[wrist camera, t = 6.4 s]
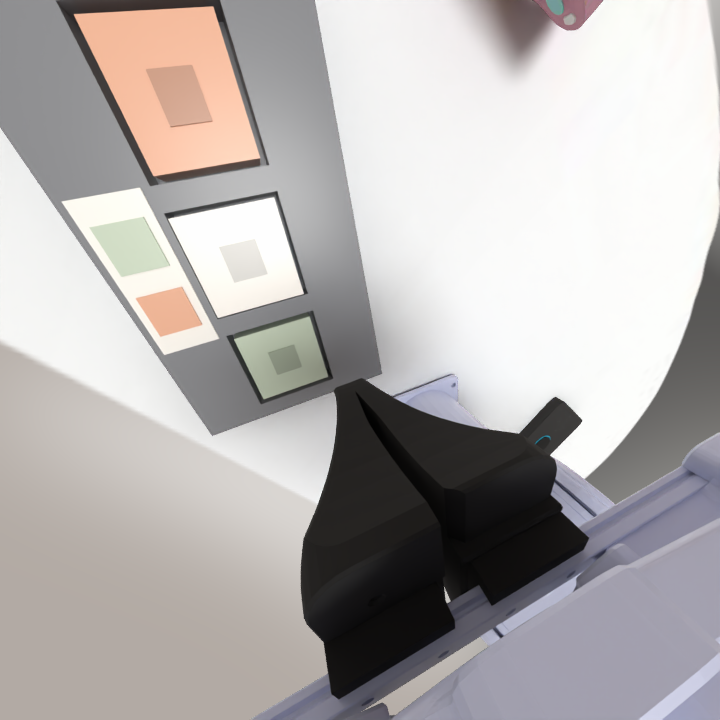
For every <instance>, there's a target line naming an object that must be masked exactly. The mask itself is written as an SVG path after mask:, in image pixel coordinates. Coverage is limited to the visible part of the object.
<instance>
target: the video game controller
mask: <svg viewBox="0 0 720 720" xmlns="http://www.w3.org/2000/svg"><path fill="white" fill-rule="evenodd" d="M533 1H535V2H536V3H537V4H538V5H539V6H540V7H541V8H542V9H543V10H544V11H545V12H546V14H547V15H548V16H549V17H550V18H551V19H552V20H553V21H554V22H555V23H556V24H557V25H558V26H560V27H561V28H563V29H565V30H576V29H579V28H580V27H581V26H582V25H583V24H584V22H585V21H586V20H587V19H588V18H589V17H590V15H591V14H592V13H593V12H594V11H595V10H596V8H597V7H598V6H599V5H600V4H601V3H602V1H603V0H533Z"/></svg>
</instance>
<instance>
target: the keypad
mask: <svg viewBox="0 0 720 720" xmlns="http://www.w3.org/2000/svg"><path fill="white" fill-rule="evenodd" d="M212 6H213V7H214V11H215V14H216V17H217V20H218V23H219V27H220V30H221V33H222V36H223V40H224V43H225V46H226V49H227V52H228V56H229V59H230V62H231V65H232V68H233V72H234V75H235V78H236V81H237V85H238V88H239V91H240V94H241V97H242V101H243V104H244V107H245V110H246V114H247V117H248V120H249V123H250V126H251V130H252V133H253V136H254V139H255V142H256V146H257V149H258V152H259V155H260V165H259V166H253V167H247V168H242V169H236V170H230V171H225V172H219V173H213V174H208V175H202V176H196V177H191V178H185V179H179V180H174V181H168V182H164V181H162V180H160V179H158V178H156V177H154V176H153V174H152V172H151V170H150V168H149V166H148V164H147V162H146V160H145V158H144V156H143V154H142V152H141V150H140V148H139V146H138V144H137V142H136V140H135V138H134V136H133V134H132V132H131V130H130V128H129V126H128V124H127V122H126V119H125V117H124V115H123V113H122V111H121V109H120V107H119V105H118V103H117V101H116V99H115V97H114V95H113V93H112V91H111V89H110V87H109V85H108V83H107V81H106V79H105V77H104V75H103V73H102V71H101V69H100V67H99V65H98V63H97V61H96V59H95V57H94V55H93V53H92V51H91V49H90V47H89V44H88V42H87V40H86V38H85V36H84V34H83V32H82V30H81V28H80V26H79V24H78V22H77V20H76V18H75V16H74V14H87V13H105V12H123V11H140V10H158V9H176V8H194V7H212ZM0 128H1V129H2V131H3V132H4V134H5V135H6V136H7V138H8V139H9V141H10V142H11V144H12V145H13V147H14V148H15V150H16V151H17V152H18V154H19V155H20V157H21V158H22V160H23V161H24V163H25V164H26V166H27V167H28V168H29V170H30V171H31V173H32V174H33V176H34V177H35V179H36V180H37V182H38V183H39V184H40V186H41V187H42V189H43V190H44V192H45V193H46V195H47V196H48V198H49V199H50V200H51V202H52V203H53V205H54V206H55V208H56V209H57V211H58V212H59V214H60V215H61V216H62V218H63V219H64V221H65V222H66V224H67V225H68V227H69V228H70V230H71V231H72V232H73V234H74V235H75V237H76V238H77V240H78V241H79V243H80V244H81V246H82V247H83V248H84V250H85V251H86V253H87V254H88V256H89V257H90V259H91V260H92V262H93V263H94V264H95V266H96V267H97V269H98V270H99V272H100V273H101V275H102V276H103V278H104V279H105V280H106V282H107V283H108V285H109V286H110V288H111V289H112V291H113V292H114V294H115V295H116V296H117V298H118V299H119V301H120V302H121V304H122V305H123V307H124V308H125V310H126V311H127V312H128V314H129V315H130V317H131V318H132V320H133V321H134V323H135V324H136V326H137V327H138V328H139V330H140V331H141V333H142V334H143V336H144V337H145V339H146V340H147V342H148V343H149V344H150V346H151V347H152V349H153V350H154V352H155V353H156V355H157V356H158V358H159V359H160V360H161V362H162V363H163V365H164V366H165V368H166V369H167V371H168V372H169V374H170V375H171V376H172V378H173V379H174V381H175V382H176V384H177V385H178V387H179V388H180V390H181V391H182V392H183V394H184V395H185V397H186V398H187V400H188V401H189V403H190V404H191V406H192V407H193V408H194V410H195V411H196V413H197V414H198V416H199V417H200V419H201V420H202V422H203V423H204V424H205V426H206V427H207V429H208V430H209V432H210V433H211V435H212V436H213V435H216V434H219V433H221V432H224V431H227V430H229V429H232V428H235V427H238V426H240V425H243V424H246V423H249V422H251V421H254V420H257V419H260V418H262V417H265V416H268V415H270V414H273V413H276V412H279V411H281V410H284V409H287V408H290V407H292V406H295V405H298V404H301V403H303V402H306V401H309V400H312V399H314V398H317V397H320V396H322V395H325V394H328V393H331V392H333V391H334V390H335V388H336V387H339V386H341V385H344V384H347V383H349V382H352V381H355V380H357V379H360V378H363V379H365V380H366V379H369V378H372V377H374V376H377V375H380V374H382V371H381V365H380V360H379V354H378V349H377V343H376V338H375V332H374V327H373V321H372V316H371V310H370V304H369V299H368V293H367V288H366V282H365V277H364V271H363V266H362V260H361V254H360V249H359V243H358V238H357V232H356V227H355V221H354V216H353V210H352V205H351V199H350V193H349V188H348V182H347V177H346V171H345V166H344V160H343V155H342V149H341V143H340V138H339V132H338V127H337V121H336V116H335V110H334V105H333V99H332V94H331V88H330V82H329V77H328V71H327V66H326V60H325V55H324V49H323V44H322V38H321V32H320V27H319V21H318V16H317V10H316V5H315V0H0ZM273 197H274V199H275V202H276V205H277V208H278V212H279V215H280V218H281V221H282V225H283V228H284V231H285V234H286V238H287V241H288V244H289V247H290V251H291V254H292V257H293V260H294V264H295V267H296V270H297V273H298V277H299V280H300V283H301V286H302V289H303V293H304V294H302V295H298V296H294V297H291V298H287V299H284V300H280V301H277V302H273V303H270V304H266V305H263V306H259V307H255V308H252V309H248V310H245V311H241V312H238V313H234V314H231V315H227V316H224V317H220V318H218V317H217V315H216V313H215V311H214V309H213V307H212V305H211V303H210V301H209V299H208V297H207V295H206V293H205V291H204V289H203V287H202V285H201V283H200V281H199V279H198V277H197V275H196V273H195V271H194V269H193V267H192V266H191V264H190V262H189V260H188V258H187V256H186V254H185V252H184V250H183V248H182V246H181V244H180V242H179V240H178V238H177V236H176V234H175V232H174V230H173V228H172V226H171V224H170V222H169V220H168V219H170V218H174V217H179V216H184V215H189V214H194V213H199V212H204V211H209V210H214V209H219V208H224V207H229V206H234V205H239V204H244V203H248V202H253V201H258V200H263V199H268V198H273ZM306 312H307V313H308V315H309V316H310V319H311V323H312V326H313V329H314V332H315V336H316V339H317V342H318V345H319V348H320V352H321V355H322V358H323V361H324V365H325V368H326V371H327V374H328V377H326V378H323V379H320V380H317V381H315V382H312V383H309V384H306V385H303V386H300V387H298V388H295V389H292V390H289V391H286V392H283V393H281V394H278V395H275V396H272V397H269V398H266V399H263V397H262V395H261V393H260V391H259V389H258V387H257V385H256V383H255V381H254V379H253V377H252V375H251V373H250V371H249V369H248V367H247V365H246V363H245V361H244V359H243V357H242V355H241V353H240V351H239V349H238V347H237V345H236V343H235V341H234V337H235V333H238V332H242V331H245V330H248V329H252V328H255V327H259V326H262V325H265V324H269V323H272V322H275V321H279V320H282V319H286V318H289V317H292V316H296V315H299V314H302V313H306Z"/></svg>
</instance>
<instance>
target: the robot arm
mask: <svg viewBox="0 0 720 720" xmlns="http://www.w3.org/2000/svg"><path fill="white" fill-rule="evenodd" d="M334 393H335V396H336V401H337V426H336V437H335V444H334V450H333V455H332V460H331V464H330V468H329V472H328V475H327V479H326V482H325V485H324V488H323V491H322V494H321V497H320V500H319V503H318V505H317V508H316V511H315V513H314V515H313V518H312V520H311V523H310V525H309V528H308V530H307V532H306V534H305V537H304V541H303V549H302V560H301V594H302V604H303V614H304V619H305V621H306V623H307V625H308V626H309V627H310V628H311V629H312V630H313V631H314V632H315V634H316V635H317V636H318V637H319V638H320V639H321V640H322V641H323V642H324V648H325V654H326V662H327V668H328V674H327V675H325V676H323V677H321V678H320V679H318V680H316V681H314V682H313V683H311V684H309V685H308V686H306V687H304V688H302V689H301V690H299V691H297V692H296V693H294V694H292V695H291V696H289V697H287V698H285V699H284V700H282V701H280V702H279V703H277V704H276V705H274V706H272V707H270V708H268V709H267V710H265V711H263V712H262V713H260V714H258V715H257V716H255V717H253V718H251V719H250V720H720V432H719V433H717V434H715V435H714V436H712V437H710V438H708V439H707V440H705V441H703V442H702V443H700V444H698V445H697V446H695V447H694V448H693V449H692V450H691V451H690V452H689V453H688V454H687V456H686V457H685V458H684V460H683V462H682V466H680V467H679V468H677V469H675V470H674V471H672V472H670V473H669V474H667V475H665V476H663V477H662V478H660V479H658V480H657V481H655V482H653V483H652V484H650V485H648V486H646V487H645V488H643V489H641V490H640V491H638V492H636V493H634V494H633V495H631V496H629V497H628V498H626V499H624V500H623V501H621V502H619V503H618V504H616V505H615V504H614V503H613V502H612V501H611V500H609V499H608V498H607V497H606V496H605V495H603V494H602V493H601V492H600V491H598V490H597V489H596V488H595V487H594V486H592V485H591V484H590V483H588V482H587V481H586V480H585V479H583V478H582V477H581V476H579V475H578V474H577V473H575V472H574V471H573V470H571V469H570V468H569V467H567V466H566V465H564V464H563V463H561V462H560V461H558V460H557V459H555V458H553V457H551V456H550V455H548V454H547V453H546V452H545V451H544V450H542V449H541V448H540V447H539V446H537V445H536V444H535V443H534V442H532V441H531V440H529V439H528V438H526V437H525V436H523V435H522V434H516V433H509V432H502V431H495V430H489V429H487V428H486V427H485V426H484V425H483V424H482V423H481V422H479V421H478V420H477V419H476V418H475V417H474V416H473V415H471V414H470V413H469V412H468V411H467V410H466V409H465V408H463V407H462V406H461V405H460V404H459V403H458V377H457V376H455V375H450V376H447V377H445V378H442V379H440V380H437V381H435V382H432V383H429V384H427V385H424V386H422V387H419V388H417V389H414V390H411V391H409V392H406V393H404V394H401V395H399V396H396V397H392V396H390V395H388V394H386V393H385V392H383V391H381V390H380V389H378V388H377V387H375V386H374V385H372V384H371V383H369V382H368V381H366V380H365V379H363V378H360V379H357V380H355V381H352V382H349V383H347V384H344V385H341V386H339V387H336V388H335V390H334ZM444 587H445V589H446V591H447V594H448V596H449V598H450V600H451V602H449V603H446V601H445V592H444ZM479 637H481V638H482V639H483V641H484V642H485V643H487V645H488V646H489V647H487V648H486V649H484V650H483V651H481V652H480V653H479V654H477V655H476V656H474V657H473V658H472V659H470V660H469V661H468V662H466V663H465V664H463V665H462V666H461V667H459V668H458V669H457V670H455V671H454V672H453V673H451V674H450V675H449V676H447V677H446V678H444V679H443V680H442V681H440V682H439V683H438V684H436V685H435V686H434V687H432V688H431V689H430V690H429V691H427V692H426V693H424V694H423V695H422V696H420V697H419V698H418V699H416V700H415V701H414V702H412V703H411V704H410V705H409V706H407V707H406V708H405V709H403V710H402V711H401V712H399V713H398V714H397V715H392V716H391V715H389V712H388V708H387V706H386V705H385V704H384V703H380V704H378V705H376V706H374V707H371V708H369V709H367V710H365V709H366V708H368V707H369V706H371V705H372V704H374V703H376V702H377V701H379V700H380V699H382V698H384V697H385V696H387V695H388V694H390V693H391V692H393V691H395V690H396V689H398V688H399V687H401V686H403V685H404V684H406V683H407V682H409V681H410V680H412V679H414V678H415V677H417V676H418V675H420V674H422V673H423V672H425V671H426V670H428V669H429V668H431V667H433V666H434V665H436V664H437V663H439V662H441V661H442V660H444V659H445V658H447V657H448V656H450V655H451V654H453V653H454V652H456V651H458V650H460V649H461V648H463V647H464V646H466V645H467V644H469V643H471V642H472V641H474V640H475V639H477V638H479ZM363 710H364V711H363ZM361 711H362V712H361Z"/></svg>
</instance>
